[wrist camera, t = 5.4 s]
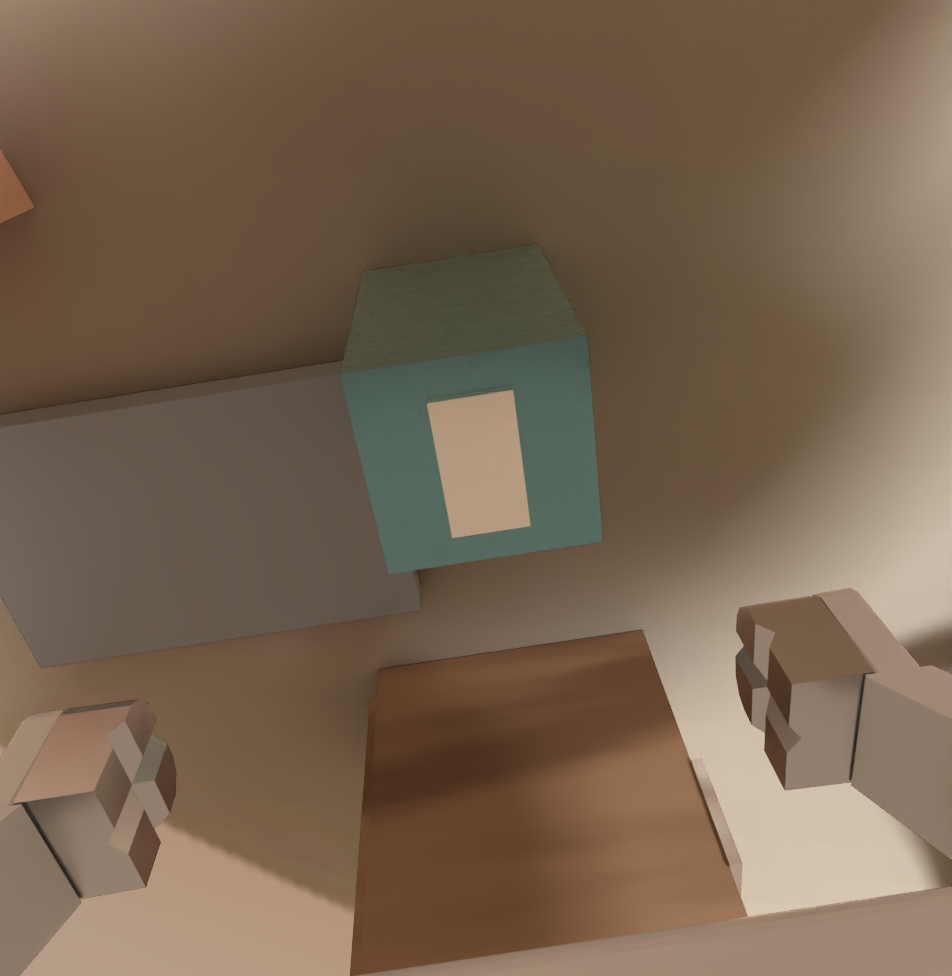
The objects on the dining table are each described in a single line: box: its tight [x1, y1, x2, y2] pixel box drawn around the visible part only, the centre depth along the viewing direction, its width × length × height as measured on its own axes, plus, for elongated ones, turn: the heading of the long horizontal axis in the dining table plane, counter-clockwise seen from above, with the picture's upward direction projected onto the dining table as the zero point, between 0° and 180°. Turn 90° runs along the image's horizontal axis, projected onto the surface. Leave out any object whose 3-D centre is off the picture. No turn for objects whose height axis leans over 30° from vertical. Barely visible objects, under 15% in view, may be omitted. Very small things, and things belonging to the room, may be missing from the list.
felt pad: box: [0, 361, 422, 668], centre depth 23 cm, size 8×12×1 cm, turn 98°
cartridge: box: [340, 244, 603, 574], centre depth 18 cm, size 4×4×7 cm
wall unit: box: [350, 630, 748, 976], centre depth 24 cm, size 5×10×11 cm, turn 98°
